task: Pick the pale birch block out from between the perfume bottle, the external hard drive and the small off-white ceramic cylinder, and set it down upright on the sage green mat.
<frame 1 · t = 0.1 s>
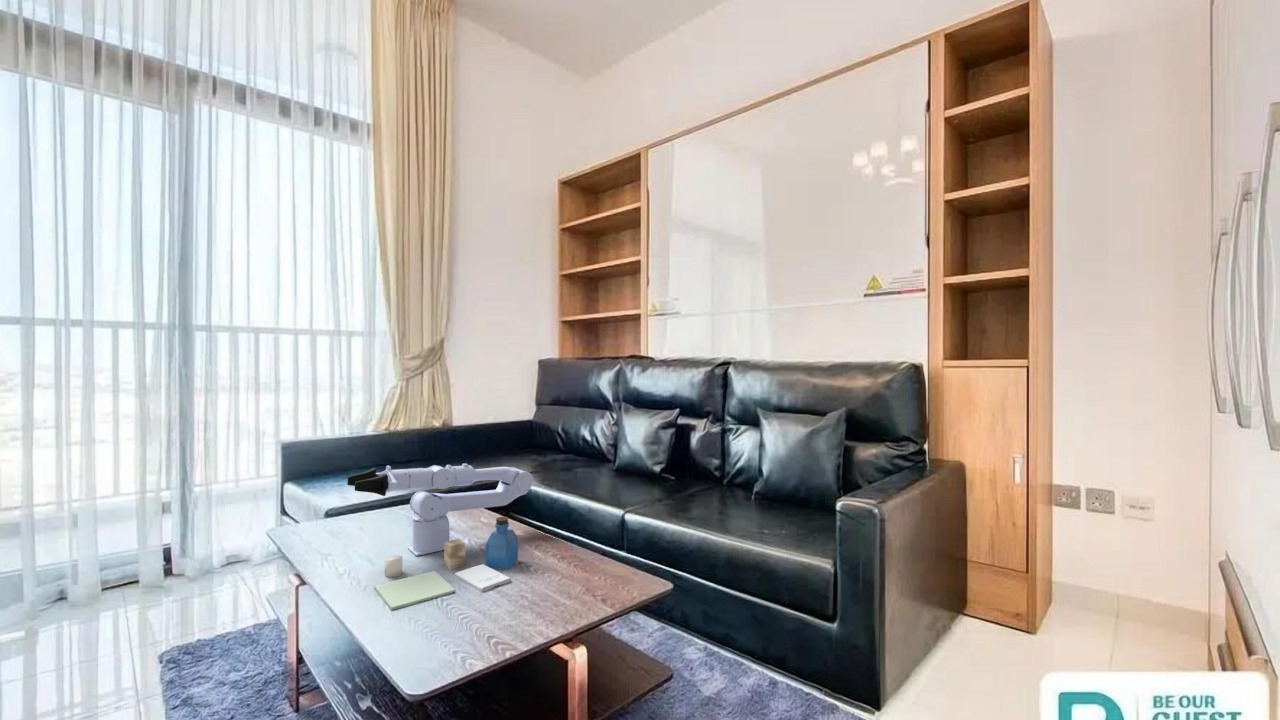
hand: (351, 483, 142), 22 cm above the table, tool horizontal, fingers open, 7 cm apart
external hard drive: (482, 582, 135), on the table
ceramic cylinder: (393, 574, 137), on the table
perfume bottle: (502, 564, 144), on the table
birch block: (454, 565, 143), on the table
sage mat: (414, 590, 128), on the table
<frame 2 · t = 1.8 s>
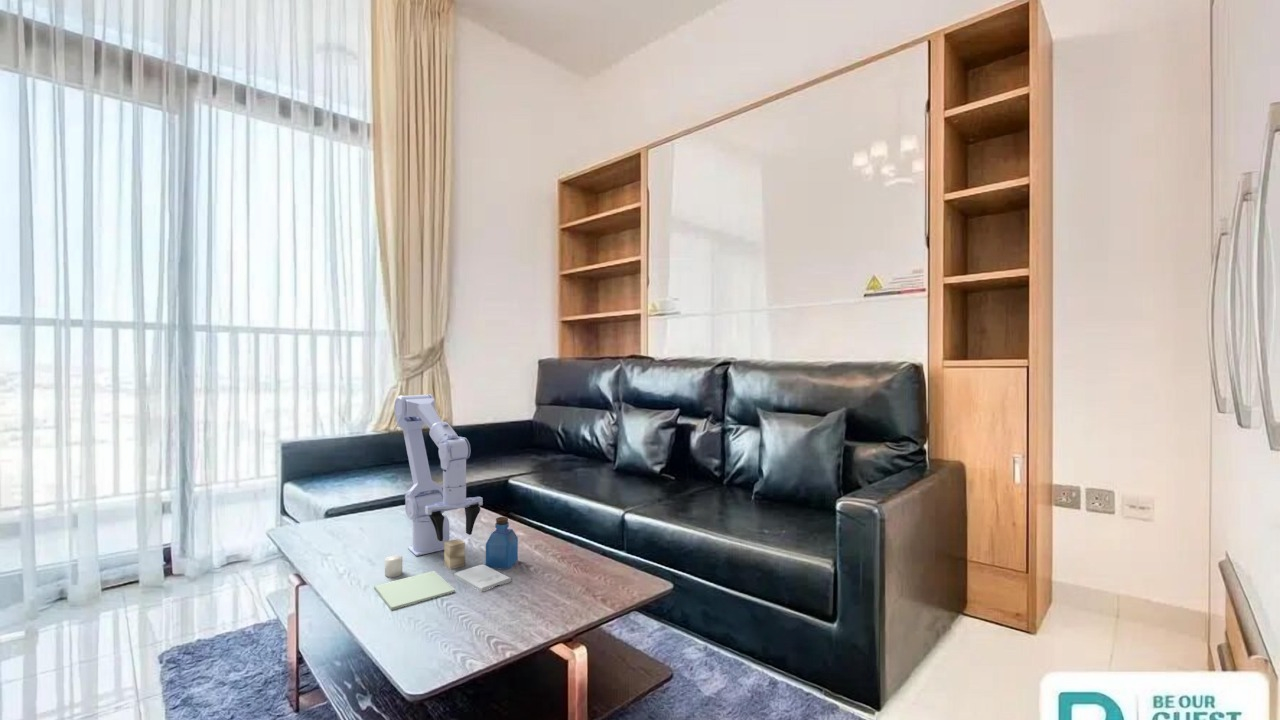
hand: (454, 536, 143), 7 cm above the table, tool pointing down, fingers open, 7 cm apart
nothing on the table moved.
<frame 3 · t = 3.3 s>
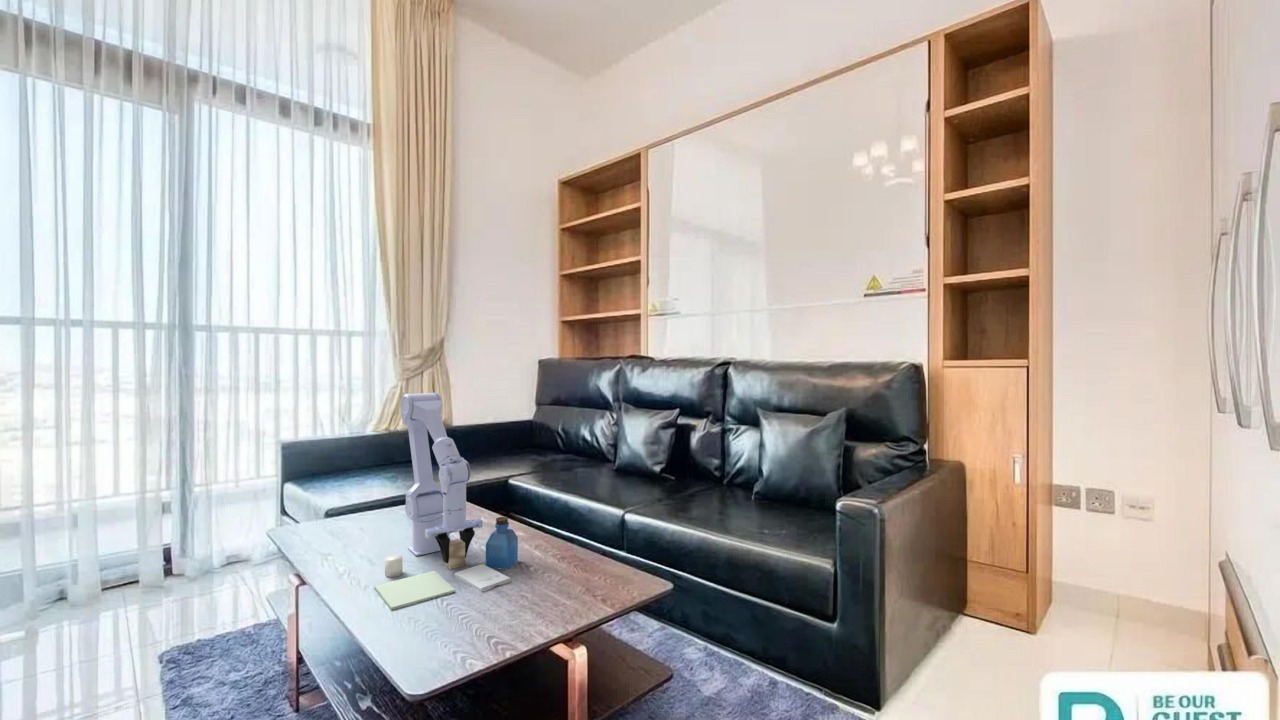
hand: (454, 559, 143), 1 cm above the table, tool pointing down, fingers closed on birch block, 4 cm apart
birch block: (454, 564, 143), on the table, touching gripper
everything else where it was.
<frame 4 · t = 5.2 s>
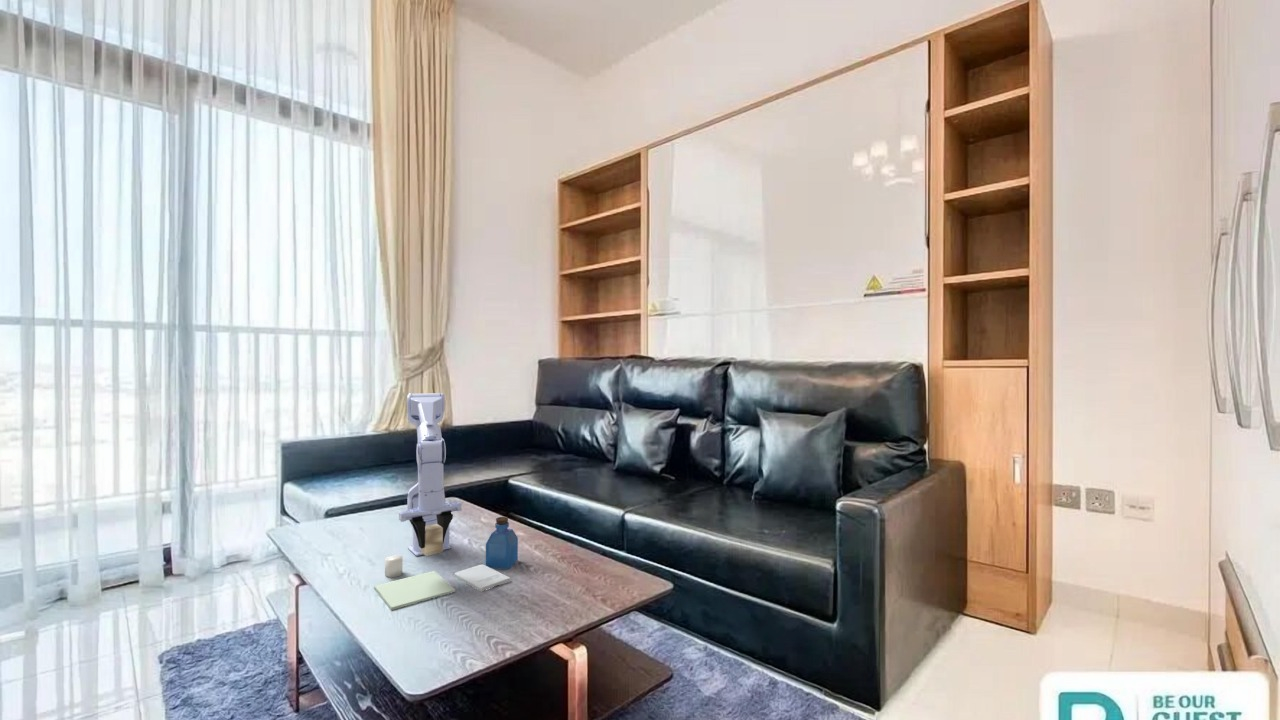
hand: (431, 544, 134), 9 cm above the table, tool pointing down, fingers closed on birch block, 4 cm apart
birch block: (431, 551, 134), point 7 cm above the table, touching gripper
everything else where it was.
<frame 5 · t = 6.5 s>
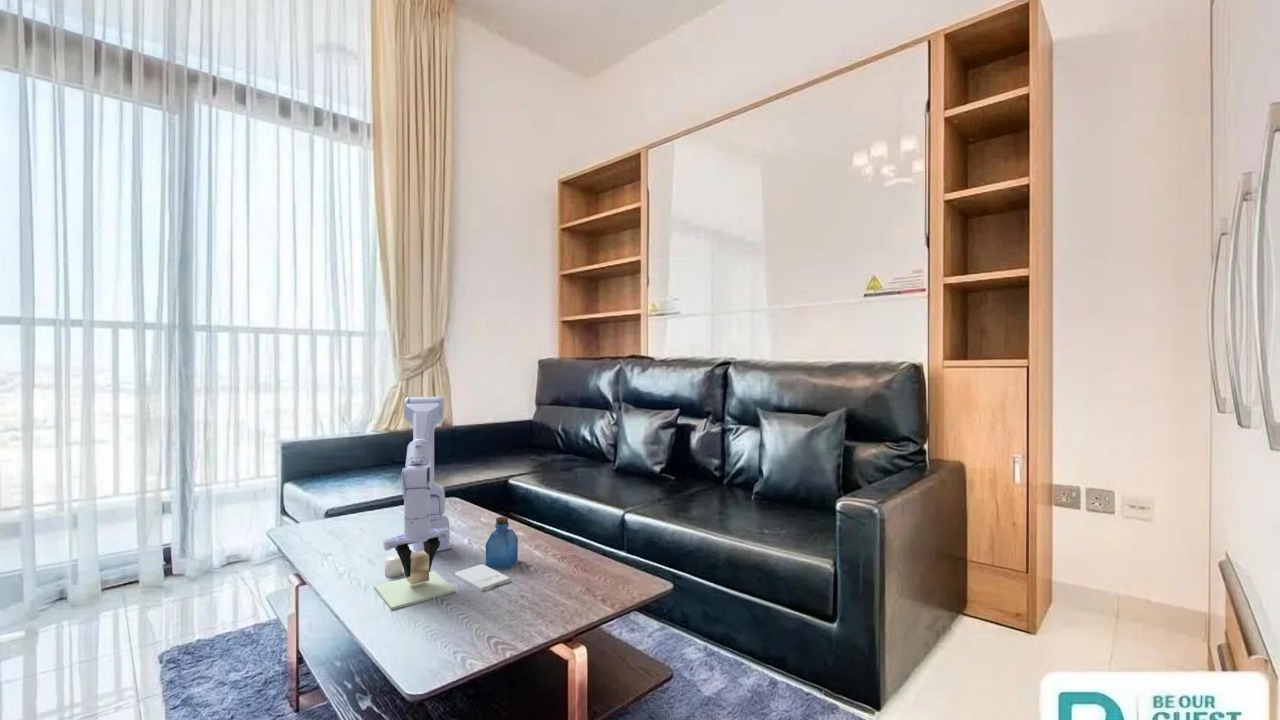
hand: (417, 573, 129), 3 cm above the table, tool pointing down, fingers closed on birch block, 4 cm apart
birch block: (417, 580, 129), point 2 cm above the table, touching gripper
everything else where it was.
when the fingers open (3 cm above the table, at t = 7.3 s): birch block drops 1 cm, resting on sage mat.
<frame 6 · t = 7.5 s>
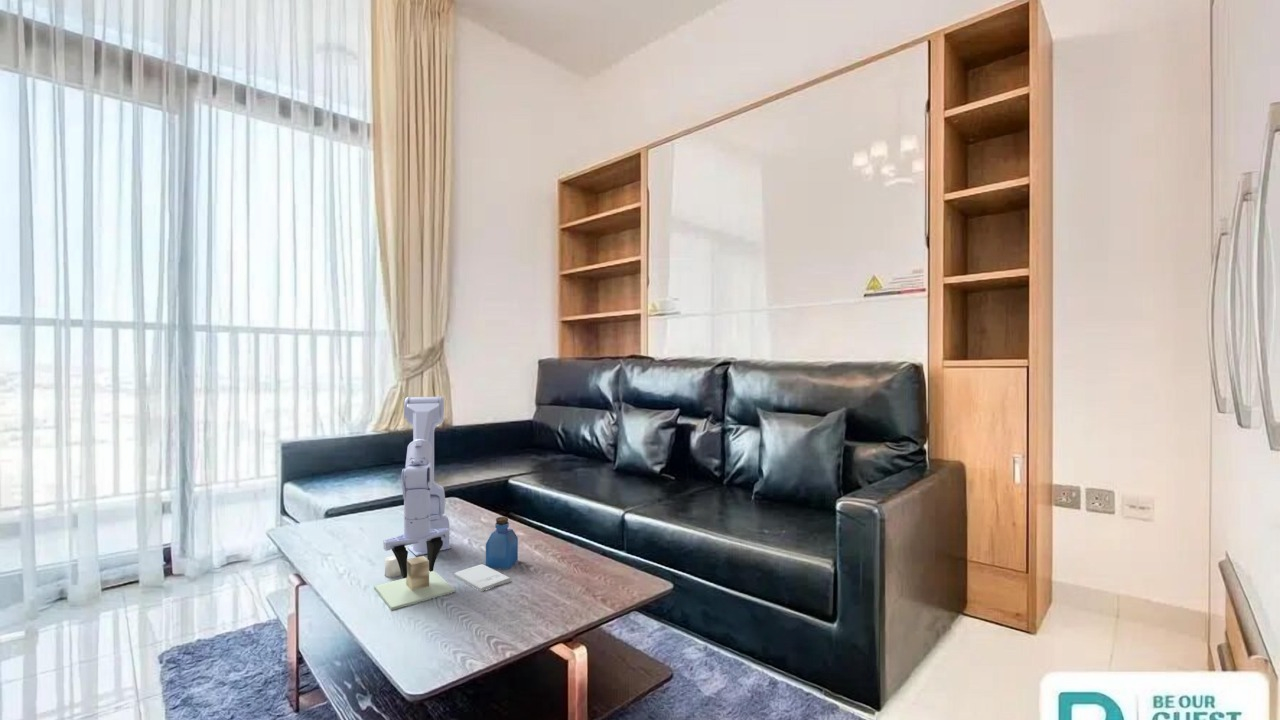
hand: (417, 573, 129), 3 cm above the table, tool pointing down, fingers open, 5 cm apart
birch block: (417, 585, 129), point 1 cm above the table, touching sage mat
everything else where it was.
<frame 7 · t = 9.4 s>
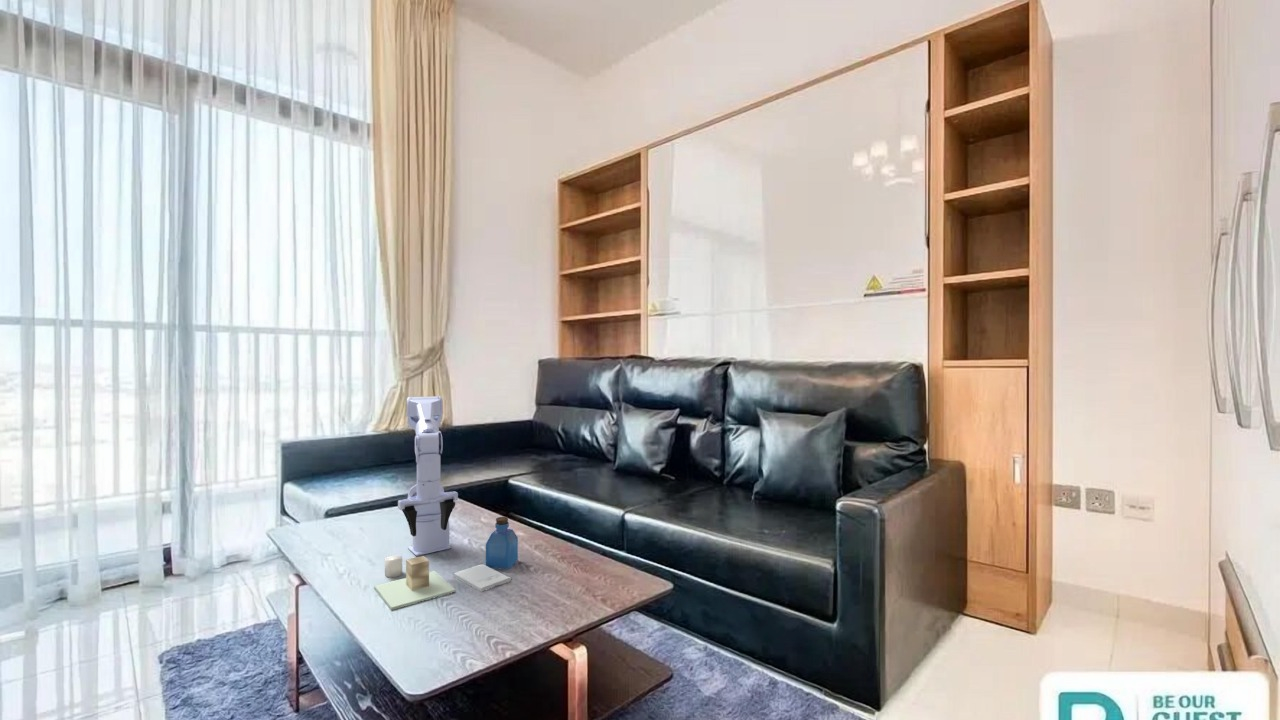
hand: (428, 532, 141), 9 cm above the table, tool pointing down, fingers open, 7 cm apart
nothing on the table moved.
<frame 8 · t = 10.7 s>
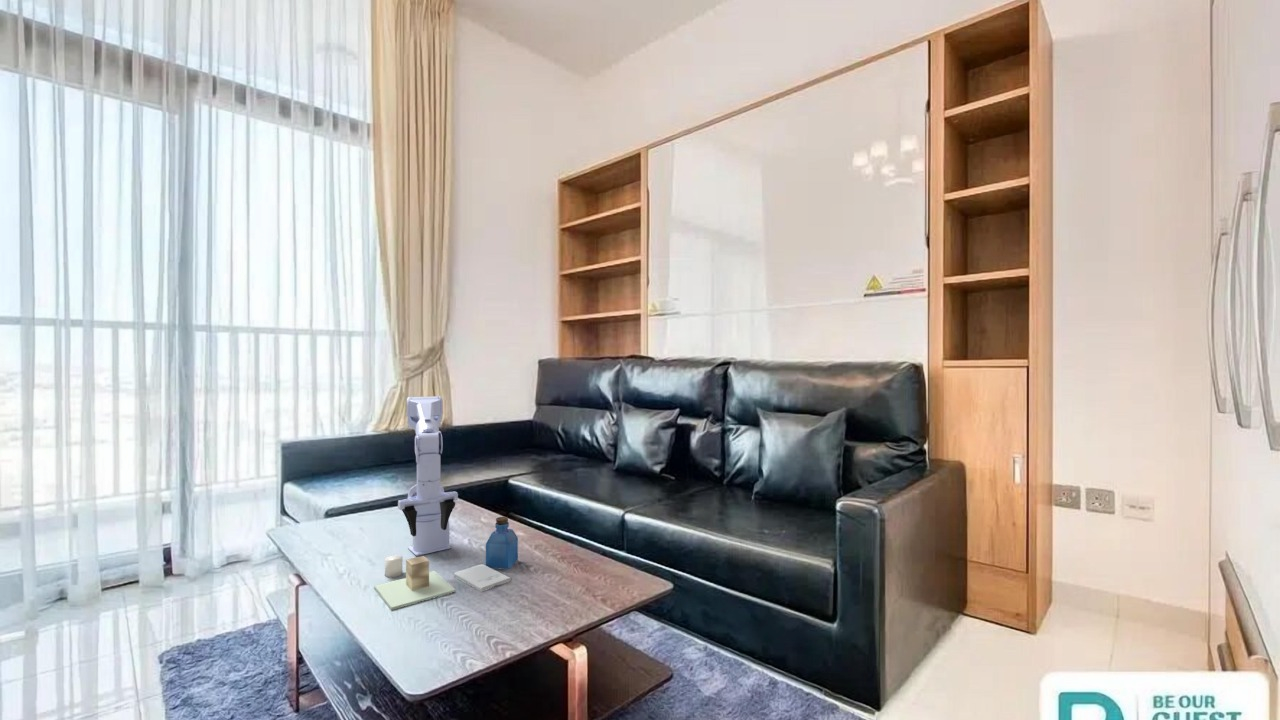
hand: (428, 532, 141), 9 cm above the table, tool pointing down, fingers open, 7 cm apart
nothing on the table moved.
at the end: birch block inside the target area on the sage mat (1.3 cm from its centre), point 0.6 cm above the sage mat's base; birch block tilted 0°; the gripper is holding nothing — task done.
